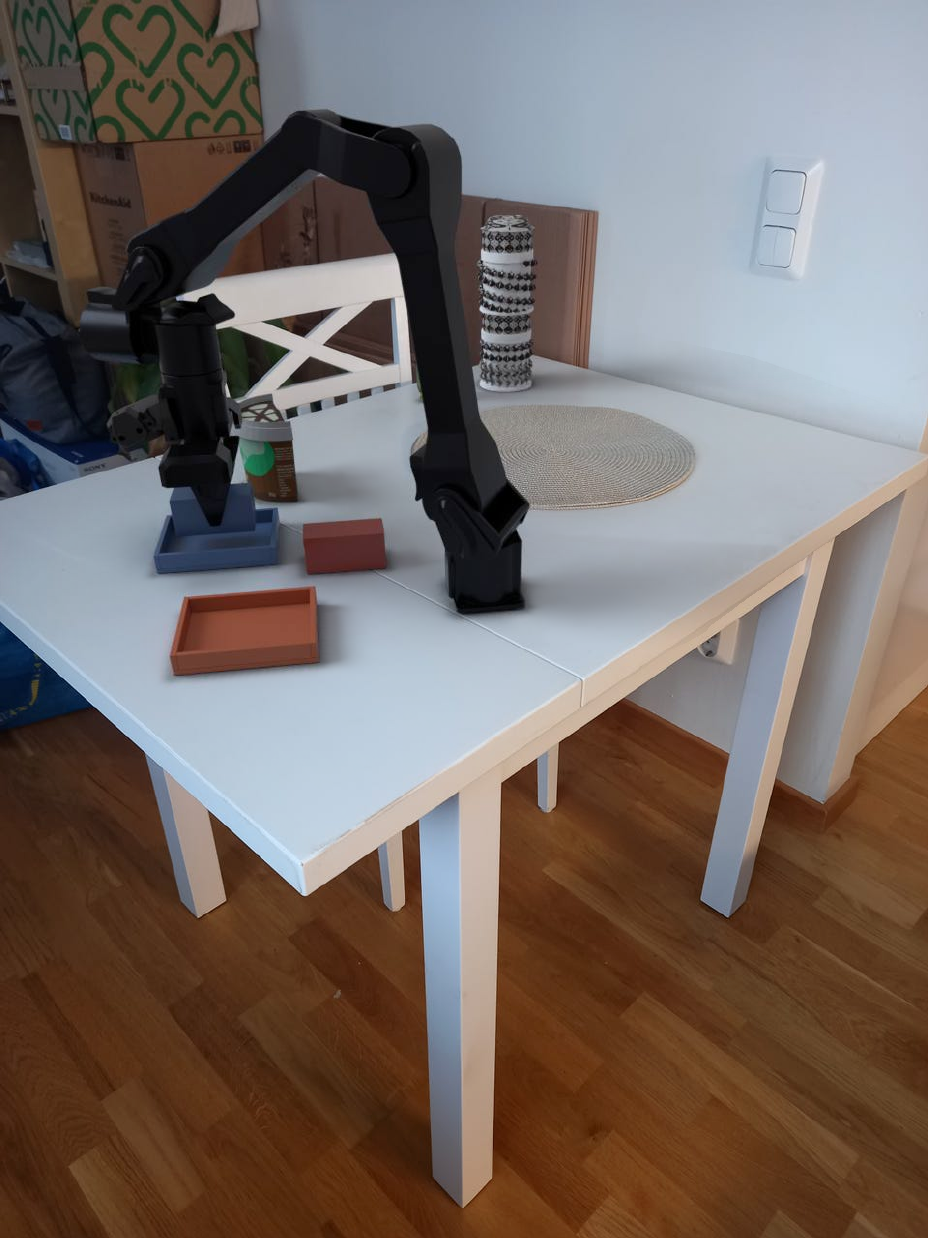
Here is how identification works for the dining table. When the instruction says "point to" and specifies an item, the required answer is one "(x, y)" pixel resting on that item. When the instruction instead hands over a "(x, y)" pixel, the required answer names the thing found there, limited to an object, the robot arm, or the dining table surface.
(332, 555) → the red bar
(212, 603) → the orange tray
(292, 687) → the dining table surface
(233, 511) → the blue bar
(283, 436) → the food container
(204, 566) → the blue tray
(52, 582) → the dining table surface
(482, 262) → the decorative candle
